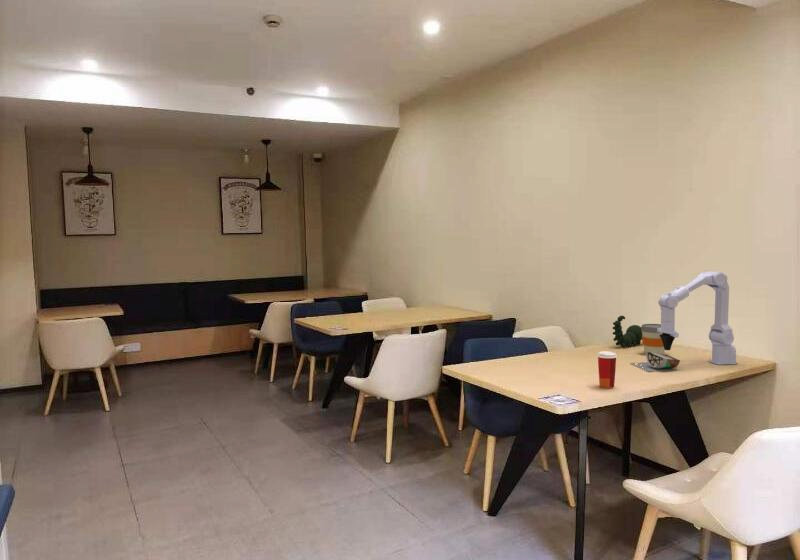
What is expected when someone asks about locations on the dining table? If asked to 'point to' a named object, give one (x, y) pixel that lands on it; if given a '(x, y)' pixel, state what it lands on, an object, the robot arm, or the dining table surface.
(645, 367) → the plain gray flat panel
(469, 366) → the dining table surface
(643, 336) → the reusable coffee cup
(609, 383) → the paper cup
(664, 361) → the food container
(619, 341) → the toy figurine
